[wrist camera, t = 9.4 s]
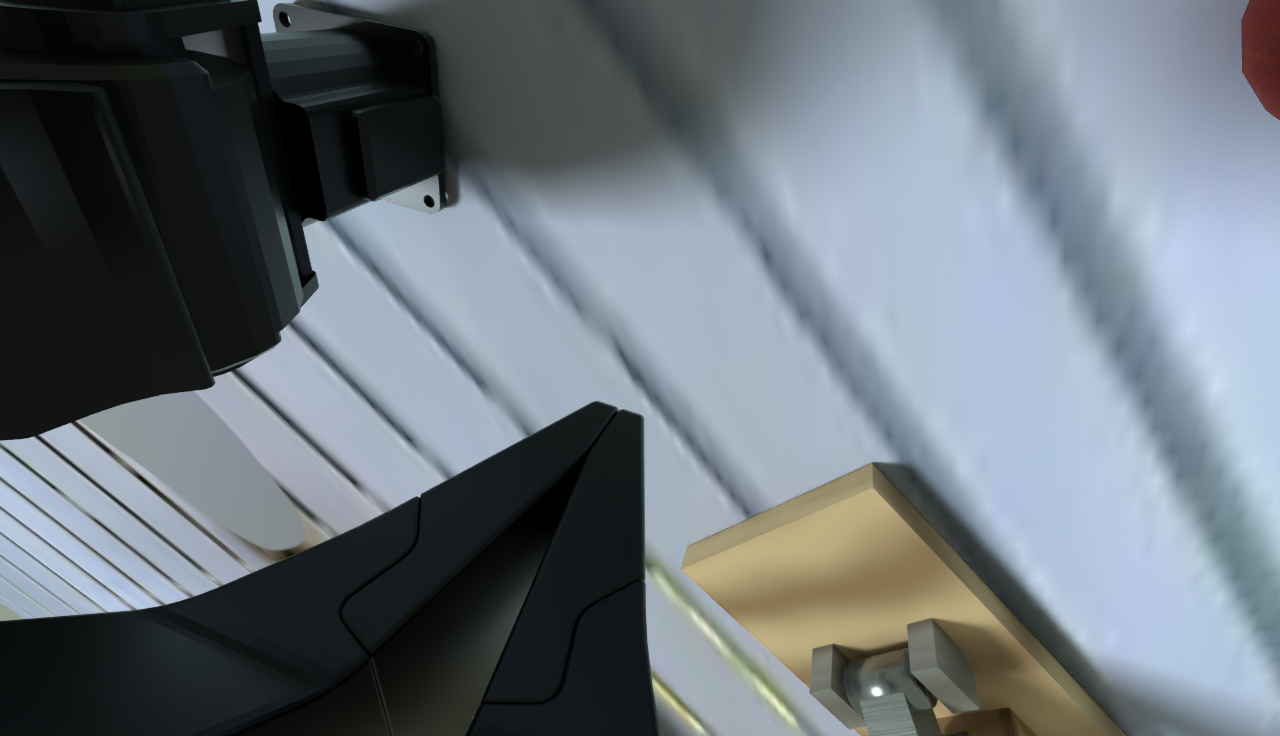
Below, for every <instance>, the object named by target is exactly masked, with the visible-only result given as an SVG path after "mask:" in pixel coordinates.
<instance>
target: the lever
mask: <svg viewBox="0 0 1280 736" xmlns="http://www.w3.org/2000/svg"><path fill="white" fill-rule="evenodd" d="M843 684H844V689H845V692H846V695H847V698H848V700H849V702H850V704H851V706H852V707H853V709H854V710H855V712H856V713H857V714H858V715H859V716H861V717H862V718H864V719H865V723H866V726H867V730H868V733H869V736H969V735H968V732H967V731H963V732H956V733H948V734H942V733H941V730H940V727H939V725H938V722H937V719H936V716H935V713H934V711H933V708H934V707H935V706H936V705H937V701H938V699H937V698H936V697H935V696H934V695H933V694H932V693H931V692H930V691H929V690H928V689H927V688H926V687H925V686H924V685H923V684H922V683H921V682H920V681H919V680H918V679H917V678H916V677H915V676H914V675H913V674H912V673H911V672H910V660H909V648H905V649H901V650H897V651H892V652H888V653H884V654H879V655H875V656H871V657H867V658H862V659H858V660H854V661H849V662H847V663H846V664H845V665H844V668H843Z"/></svg>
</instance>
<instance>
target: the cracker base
mask: <svg viewBox="0 0 1280 736" xmlns="http://www.w3.org/2000/svg"><path fill="white" fill-rule="evenodd" d="M681 570H682V571H683V572H684V573H685V574H686V575H687V576H688V577H689V578H691V579H692V580H693V581H694V582H695V583H696V584H697V585H698V586H699V587H700V588H701V589H702V590H704V591H705V592H706V593H707V594H708V595H709V596H710V597H711V598H712V599H713V600H714V601H716V602H717V603H718V604H719V605H720V606H721V607H722V608H723V609H724V610H725V611H726V612H727V613H729V614H730V615H731V616H732V617H733V618H734V619H735V620H736V621H737V622H738V623H739V624H740V625H742V626H743V627H744V628H745V629H746V630H747V631H748V632H749V633H750V634H751V635H752V636H754V637H755V638H756V639H757V640H758V641H759V642H760V643H761V644H762V645H763V646H764V647H765V648H767V649H768V650H769V651H770V652H771V653H772V654H773V655H774V656H775V657H776V658H777V659H778V660H780V661H781V662H782V663H783V664H784V665H785V666H786V667H787V668H788V669H789V670H790V671H792V672H793V673H794V674H795V675H796V676H797V677H798V678H799V679H800V680H801V681H802V682H803V683H805V684H806V685H807V686H808V687H809V688H810V694H811V695H812V696H813V697H814V698H816V699H817V700H818V701H819V702H820V703H821V704H822V705H823V706H824V707H825V708H826V709H828V710H829V711H830V712H831V713H832V714H833V715H834V716H835V717H836V718H837V719H838V720H839V721H841V722H842V723H843V724H844V725H845V726H846V727H847V728H848V729H854V730H856V731H857V732H858V733H859V734H860V735H861V736H869V733H868V730H867V726H866V723H865V719H864V718H862V717H861V716H859V715H858V714H857V713H856V712H855V710H854V709H853V707H852V706H851V704H850V702H849V700H848V698H847V695H846V692H845V689H844V684H843V668H844V665H845V664H846V663H847V662H849V661H854V660H858V659H862V658H867V657H871V656H875V655H879V654H884V653H888V652H892V651H897V650H901V649H905V648H909V660H910V672H911V673H912V674H913V675H914V676H915V677H916V678H917V679H918V680H919V681H920V682H921V683H922V684H923V685H924V686H925V687H926V688H927V689H928V690H929V691H930V692H931V693H932V694H933V695H934V696H935V697H936V698H937V699H938V701H937V705H936V706H935V707H934V708H933V711H934V713H935V716H936V719H937V722H938V725H939V727H940V730H941V733H942V734H948V733H956V732H963V731H967V732H968V735H969V736H1127V735H1126V734H1125V733H1124V732H1123V731H1122V730H1121V729H1120V728H1119V727H1118V726H1117V725H1116V724H1115V722H1114V721H1113V720H1112V719H1111V718H1110V717H1109V716H1108V715H1107V714H1106V713H1105V712H1104V711H1103V710H1102V709H1101V707H1100V706H1099V705H1098V704H1097V703H1096V702H1095V701H1094V700H1093V699H1092V698H1091V697H1090V696H1089V695H1088V694H1087V692H1086V691H1085V690H1084V689H1083V688H1082V687H1081V686H1080V685H1079V684H1078V683H1077V682H1076V681H1075V680H1074V679H1073V677H1072V676H1071V675H1070V674H1069V673H1068V672H1067V671H1066V670H1065V669H1064V668H1063V667H1062V666H1061V665H1060V664H1059V662H1058V661H1057V660H1056V659H1055V658H1054V657H1053V656H1052V655H1051V654H1050V653H1049V652H1048V651H1047V650H1046V649H1045V647H1044V646H1043V645H1042V644H1041V643H1040V642H1039V641H1038V640H1037V639H1036V638H1035V637H1034V636H1033V635H1032V634H1031V632H1030V631H1029V630H1028V629H1027V628H1026V627H1025V626H1024V625H1023V624H1022V623H1021V622H1020V621H1019V620H1018V619H1017V617H1016V616H1015V615H1014V614H1013V613H1012V612H1011V611H1010V610H1009V609H1008V608H1007V607H1006V606H1005V605H1004V604H1003V602H1002V601H1001V600H1000V599H999V598H998V597H997V596H996V595H995V594H994V593H993V592H992V591H991V590H990V589H989V587H988V586H987V585H986V584H985V583H984V582H983V581H982V580H981V579H980V578H979V577H978V576H977V575H976V574H975V572H974V571H973V570H972V569H971V568H970V567H969V566H968V565H967V564H966V563H965V562H964V561H963V560H962V559H961V557H960V556H959V555H958V554H957V553H956V552H955V551H954V550H953V549H952V548H951V547H950V546H949V545H948V544H947V542H946V541H945V540H944V539H943V538H942V537H941V536H940V535H939V534H938V533H937V532H936V531H935V530H934V529H933V527H932V526H931V525H930V524H929V523H928V522H927V521H926V520H925V519H924V518H923V517H922V516H921V515H920V514H919V512H918V511H917V510H916V509H915V508H914V507H913V506H912V505H911V504H910V503H909V502H908V501H907V500H906V499H905V497H904V496H903V495H902V494H901V493H900V492H899V491H898V490H897V489H896V488H895V487H894V486H893V485H892V484H891V482H890V481H889V480H888V479H887V478H886V477H885V476H884V475H883V474H882V473H881V472H880V471H879V470H878V469H877V467H876V466H875V465H874V464H873V463H871V464H869V465H866V466H864V467H862V468H860V469H858V470H855V471H853V472H851V473H849V474H847V475H844V476H842V477H840V478H838V479H836V480H833V481H831V482H829V483H827V484H825V485H822V486H820V487H818V488H816V489H814V490H811V491H809V492H807V493H805V494H802V495H800V496H798V497H796V498H794V499H791V500H789V501H787V502H785V503H783V504H780V505H778V506H776V507H774V508H772V509H769V510H767V511H765V512H763V513H761V514H758V515H756V516H754V517H752V518H750V519H747V520H745V521H743V522H741V523H739V524H736V525H734V526H732V527H730V528H728V529H725V530H723V531H721V532H719V533H716V534H714V535H712V536H710V537H708V538H705V539H703V540H701V541H699V542H697V543H694V544H692V545H690V546H688V547H687V550H686V554H685V557H684V560H683V563H682V567H681Z"/></svg>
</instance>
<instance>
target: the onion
mask: <svg viewBox="0 0 1280 736" xmlns="http://www.w3.org/2000/svg"><path fill="white" fill-rule="evenodd" d="M1242 72H1243V74H1244V75H1245V77H1246V79H1247V80H1248V82H1249V84H1250V85H1251V87H1252V89H1253V90H1254V92H1255V93H1256V95H1257V97H1258V98H1259V100H1260V102H1261V103H1262V105H1263V106H1264V108H1265V110H1266V111H1268V112H1269V113H1270V114H1272V115H1273V116H1275V117H1276V118H1277V119H1279V120H1280V0H1250V1H1249V4H1248V6H1247V9H1246V11H1245V13H1244V16H1243V18H1242Z"/></svg>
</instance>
